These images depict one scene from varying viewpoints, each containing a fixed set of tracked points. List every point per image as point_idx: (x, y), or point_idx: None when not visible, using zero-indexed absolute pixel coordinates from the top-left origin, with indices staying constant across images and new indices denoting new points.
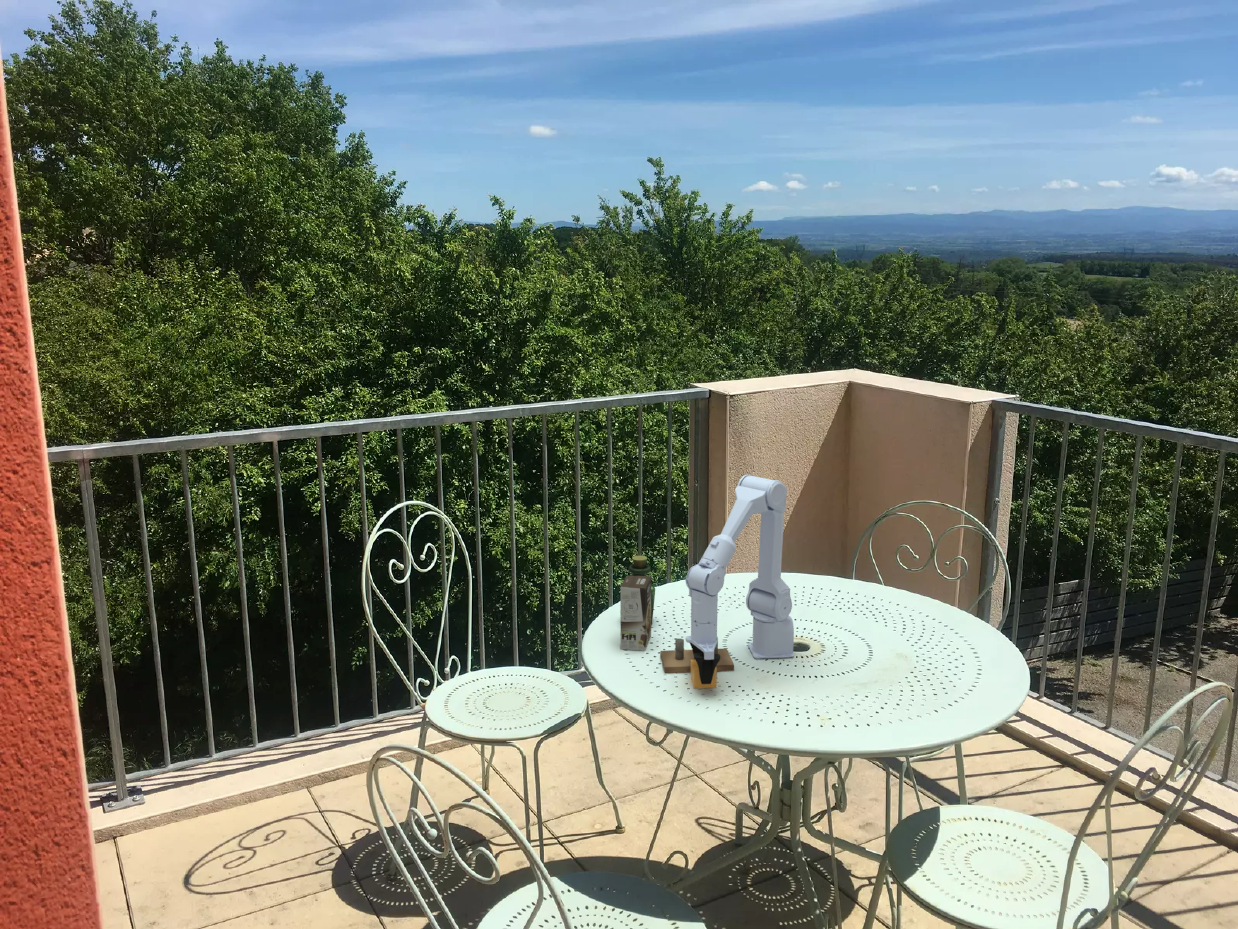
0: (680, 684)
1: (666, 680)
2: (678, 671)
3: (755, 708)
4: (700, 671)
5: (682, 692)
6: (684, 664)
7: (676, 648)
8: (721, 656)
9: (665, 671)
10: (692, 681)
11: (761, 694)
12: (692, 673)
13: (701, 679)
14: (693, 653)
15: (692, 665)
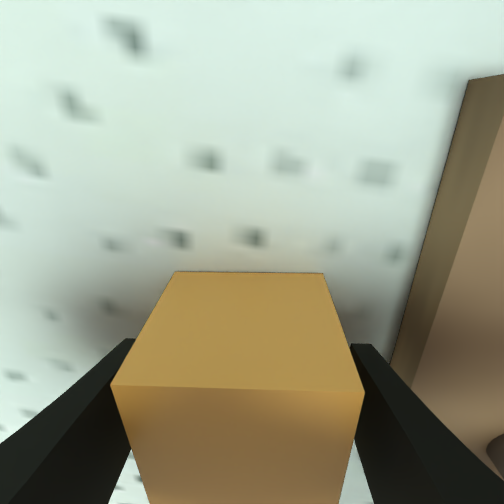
0: (239, 194)
1: (324, 81)
2: (442, 209)
3: None
4: (13, 438)
5: (113, 191)
6: (489, 277)
7: None
8: (499, 475)
9: (479, 86)
10: (234, 282)
11: (140, 486)
12: (235, 320)
13: (98, 366)
14: (433, 482)
15: (231, 381)
